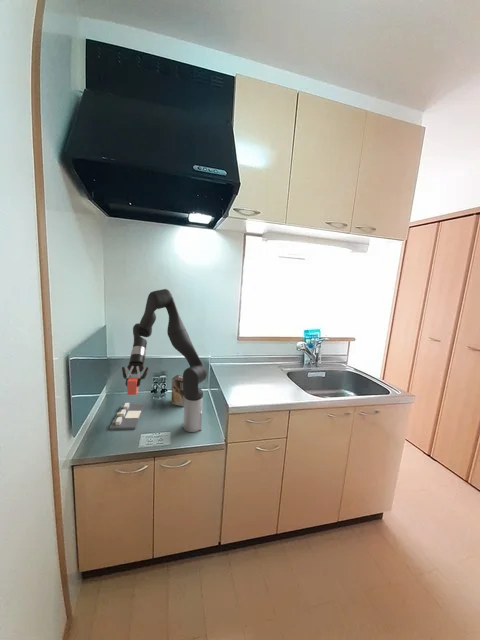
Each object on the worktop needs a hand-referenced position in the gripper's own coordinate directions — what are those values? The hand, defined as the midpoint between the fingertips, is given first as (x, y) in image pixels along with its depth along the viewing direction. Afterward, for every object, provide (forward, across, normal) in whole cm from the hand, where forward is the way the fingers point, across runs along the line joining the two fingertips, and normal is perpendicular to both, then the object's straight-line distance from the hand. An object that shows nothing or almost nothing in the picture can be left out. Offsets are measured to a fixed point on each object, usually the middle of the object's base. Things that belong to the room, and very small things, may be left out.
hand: (132, 386), depth 136 cm
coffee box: (+2, +24, +23) cm, 33 cm away
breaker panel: (+12, -2, +13) cm, 18 cm away
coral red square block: (+2, 0, +4) cm, 4 cm away
